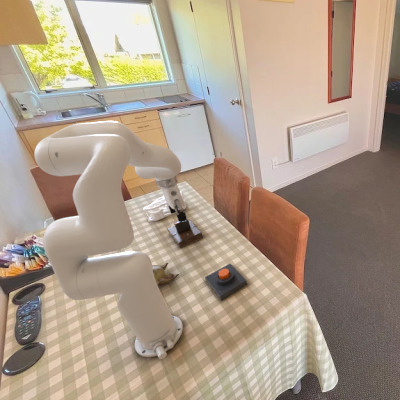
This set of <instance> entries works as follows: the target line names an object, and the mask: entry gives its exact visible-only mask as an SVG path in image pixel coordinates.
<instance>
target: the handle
mask: <svg viewBox="0 0 400 400" xmlns="http://www.w3.org/2000/svg"><path fill="white" fill-rule="evenodd" d="M188 220H189V219H188V218H187V220H185V221H183V222H179V221H174V223H173V224H174V225H173V226H175V228H176V230H177V232H178V234H179V233H182V232H184V231H186V230H189V229H191V227H190V224H189V221H188Z"/></svg>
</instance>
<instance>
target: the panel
mask: <svg viewBox="0 0 400 400" xmlns="http://www.w3.org/2000/svg"><path fill="white" fill-rule="evenodd" d="M188 221H189V224H190V227H191V229H189V230H186V231H184V232H182V233H179V234H178V232H177V230H176V228H175V225H173V226H171V227H168V228H167V231H168V234H169V235H170V236H171V238H172V239H173V240H174V242H175V243H176V244H177V246H178V247H179V248H180V249H182V248H183V247H187V246H188V245H190V244H193V243H194V242H197V241H199V240H201V239H203V238H204V235H203V232H202V231H201V230H200V229H199V228H198V227H197V226H196V225H195V224H194V223H193V222H192V221H191V220H190V219H188Z"/></svg>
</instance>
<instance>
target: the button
mask: <svg viewBox="0 0 400 400" xmlns="http://www.w3.org/2000/svg"><path fill="white" fill-rule="evenodd" d="M218 274H219V278H220V279H222V280H224V279H227V278H228V277H229V276H230V273H229V270H228V269H222V270H220V271H219V273H218Z"/></svg>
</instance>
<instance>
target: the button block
mask: <svg viewBox="0 0 400 400" xmlns="http://www.w3.org/2000/svg"><path fill="white" fill-rule="evenodd" d="M222 269H228V270H229V273H230V276H229V277H228V278H227V279H224V280H222V279H220V278H219V274H218V273H219V271H220V270H222ZM205 282H206V283H207V285H208V286H209V287H210V288H211V290H212V291H213V292H214V294H216V296H217V297H218V299H220V301H223V300H225V299H227V297H228V298H229V297H230V296H231V295H232V294H235V293H236V292H238V291H239V290H241V289H243V288H244V287H245V286H247V285H248V282H247V279H246V278H245V277H244V276H243V275H242V274H241V273H240V272H239V271H238V270H237V268H236V267H234V265H232V263H228V264H226V265H224V266H223V267H220V268H219V269H217V270H215V271H214V272H212V273H210V274H208V275H206V276H205Z"/></svg>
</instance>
